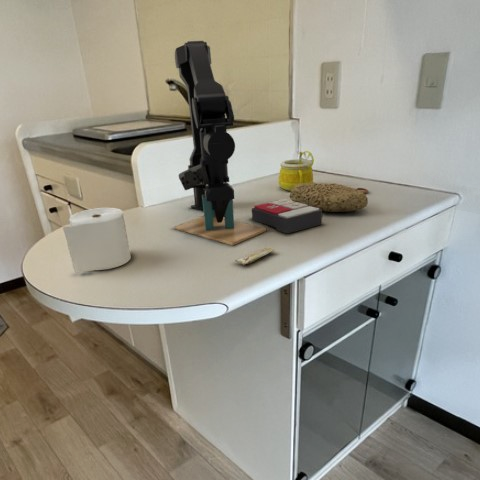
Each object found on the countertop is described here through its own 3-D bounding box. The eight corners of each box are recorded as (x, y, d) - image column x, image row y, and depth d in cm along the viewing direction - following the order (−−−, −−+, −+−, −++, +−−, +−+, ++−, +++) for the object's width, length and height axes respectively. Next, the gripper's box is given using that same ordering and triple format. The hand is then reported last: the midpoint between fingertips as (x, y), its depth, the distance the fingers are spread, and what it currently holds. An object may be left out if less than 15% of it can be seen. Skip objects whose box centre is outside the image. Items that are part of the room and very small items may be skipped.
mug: (275, 185, 144) (275, 146, 138) (308, 183, 145) (309, 144, 139) (283, 195, 133) (283, 153, 127) (318, 192, 134) (320, 151, 128)
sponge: (285, 212, 122) (340, 212, 107) (285, 183, 120) (341, 178, 105) (319, 211, 130) (374, 211, 114) (320, 183, 128) (376, 179, 112)
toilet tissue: (135, 250, 99) (127, 206, 94) (124, 272, 89) (115, 224, 84) (88, 252, 99) (78, 208, 94) (72, 274, 89) (59, 226, 84)
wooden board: (174, 228, 111) (174, 226, 110) (208, 216, 118) (208, 214, 118) (232, 245, 99) (232, 243, 99) (266, 230, 106) (266, 228, 106)
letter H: (204, 226, 109) (202, 194, 105) (232, 224, 110) (230, 192, 106) (205, 230, 107) (202, 197, 103) (234, 228, 107) (232, 195, 103)
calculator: (284, 197, 118) (322, 206, 106) (285, 213, 120) (322, 224, 108) (250, 205, 113) (286, 215, 101) (251, 221, 115) (287, 233, 103)
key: (349, 206, 121) (375, 193, 131) (350, 202, 121) (376, 190, 130) (331, 201, 125) (358, 189, 134) (332, 198, 124) (359, 186, 133)
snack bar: (264, 247, 95) (274, 245, 93) (266, 254, 95) (276, 252, 93) (233, 260, 89) (243, 259, 87) (235, 267, 90) (245, 266, 87)
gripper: (177, 148, 107) (184, 212, 115) (179, 163, 91) (187, 236, 99) (223, 145, 108) (227, 208, 116) (232, 159, 92) (236, 231, 100)
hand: (218, 220), depth 107 cm, fingers closed on letter H, 3 cm apart
